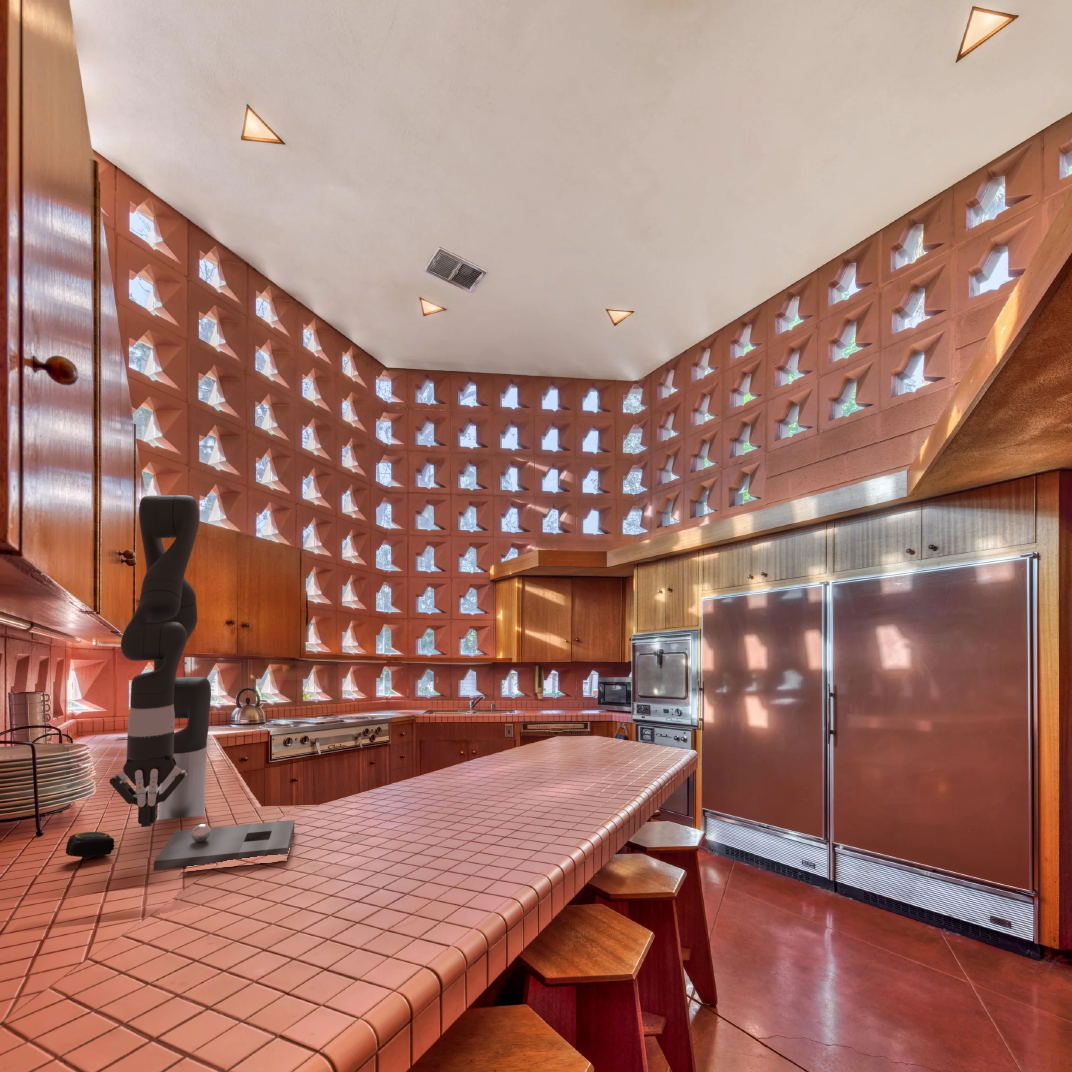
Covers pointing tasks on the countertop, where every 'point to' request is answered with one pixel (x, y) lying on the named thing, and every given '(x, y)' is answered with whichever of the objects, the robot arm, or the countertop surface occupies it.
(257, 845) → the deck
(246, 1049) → the countertop surface
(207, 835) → the steel ball
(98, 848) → the tape measure
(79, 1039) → the countertop surface
